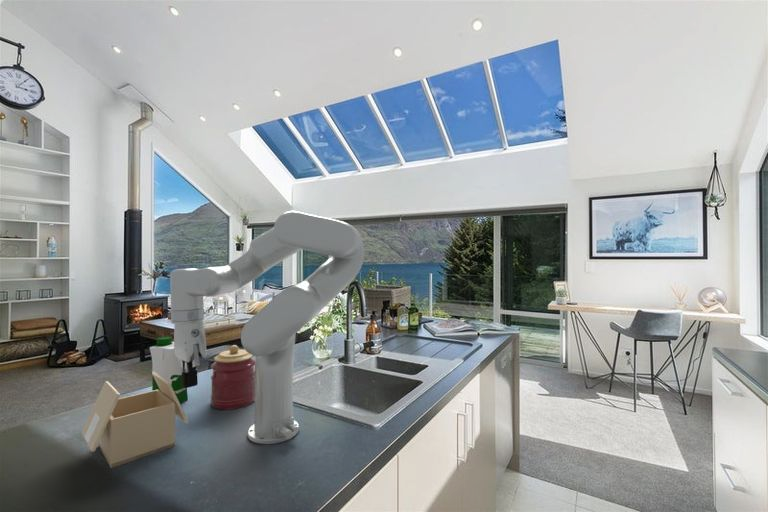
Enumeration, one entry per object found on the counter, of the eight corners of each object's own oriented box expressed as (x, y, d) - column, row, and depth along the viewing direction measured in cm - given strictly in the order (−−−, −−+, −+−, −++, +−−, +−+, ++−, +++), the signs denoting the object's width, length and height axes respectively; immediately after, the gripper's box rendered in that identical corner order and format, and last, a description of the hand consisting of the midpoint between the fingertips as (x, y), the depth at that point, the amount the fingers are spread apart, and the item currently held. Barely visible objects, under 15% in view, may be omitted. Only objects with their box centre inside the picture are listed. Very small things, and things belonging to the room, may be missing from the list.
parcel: (174, 446, 87) (175, 403, 87) (111, 468, 78) (111, 420, 78) (157, 428, 96) (157, 389, 96) (98, 446, 87) (98, 403, 87)
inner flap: (186, 423, 90) (189, 421, 90) (166, 383, 86) (170, 382, 87) (169, 409, 98) (172, 407, 98) (151, 372, 95) (154, 371, 95)
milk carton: (168, 396, 118) (168, 334, 118) (192, 398, 116) (193, 336, 116) (145, 407, 109) (146, 340, 109) (171, 410, 107) (172, 342, 107)
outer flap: (120, 394, 80) (116, 394, 79) (94, 451, 76) (90, 451, 76) (108, 381, 88) (104, 381, 87) (84, 432, 85) (80, 432, 84)
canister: (238, 412, 106) (238, 352, 106) (200, 407, 110) (201, 348, 110) (263, 396, 119) (264, 341, 119) (229, 392, 122) (230, 339, 122)
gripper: (214, 316, 93) (216, 388, 93) (192, 311, 103) (194, 376, 103) (182, 320, 87) (184, 397, 87) (162, 315, 98) (164, 384, 97)
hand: (189, 386), depth 95 cm, fingers closed
